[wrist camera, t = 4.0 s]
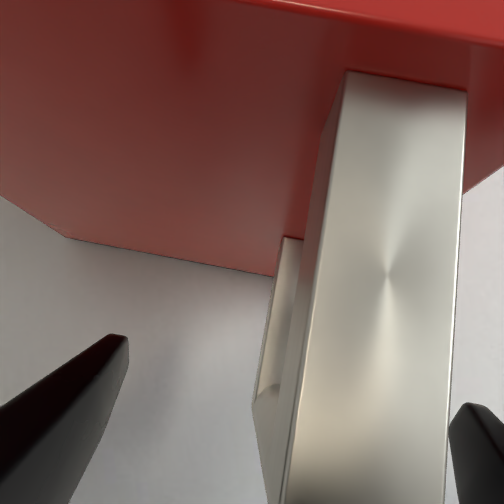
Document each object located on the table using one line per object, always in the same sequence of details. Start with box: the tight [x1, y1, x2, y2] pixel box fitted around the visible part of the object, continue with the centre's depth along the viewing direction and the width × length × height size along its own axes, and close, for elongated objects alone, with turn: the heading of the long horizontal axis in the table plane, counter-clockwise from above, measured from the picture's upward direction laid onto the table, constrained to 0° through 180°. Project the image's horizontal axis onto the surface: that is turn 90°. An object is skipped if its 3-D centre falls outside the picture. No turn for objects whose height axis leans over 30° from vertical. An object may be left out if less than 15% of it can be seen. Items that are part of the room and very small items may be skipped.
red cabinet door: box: [0, 0, 504, 504], centre depth 10 cm, size 6×12×13 cm, turn 79°
